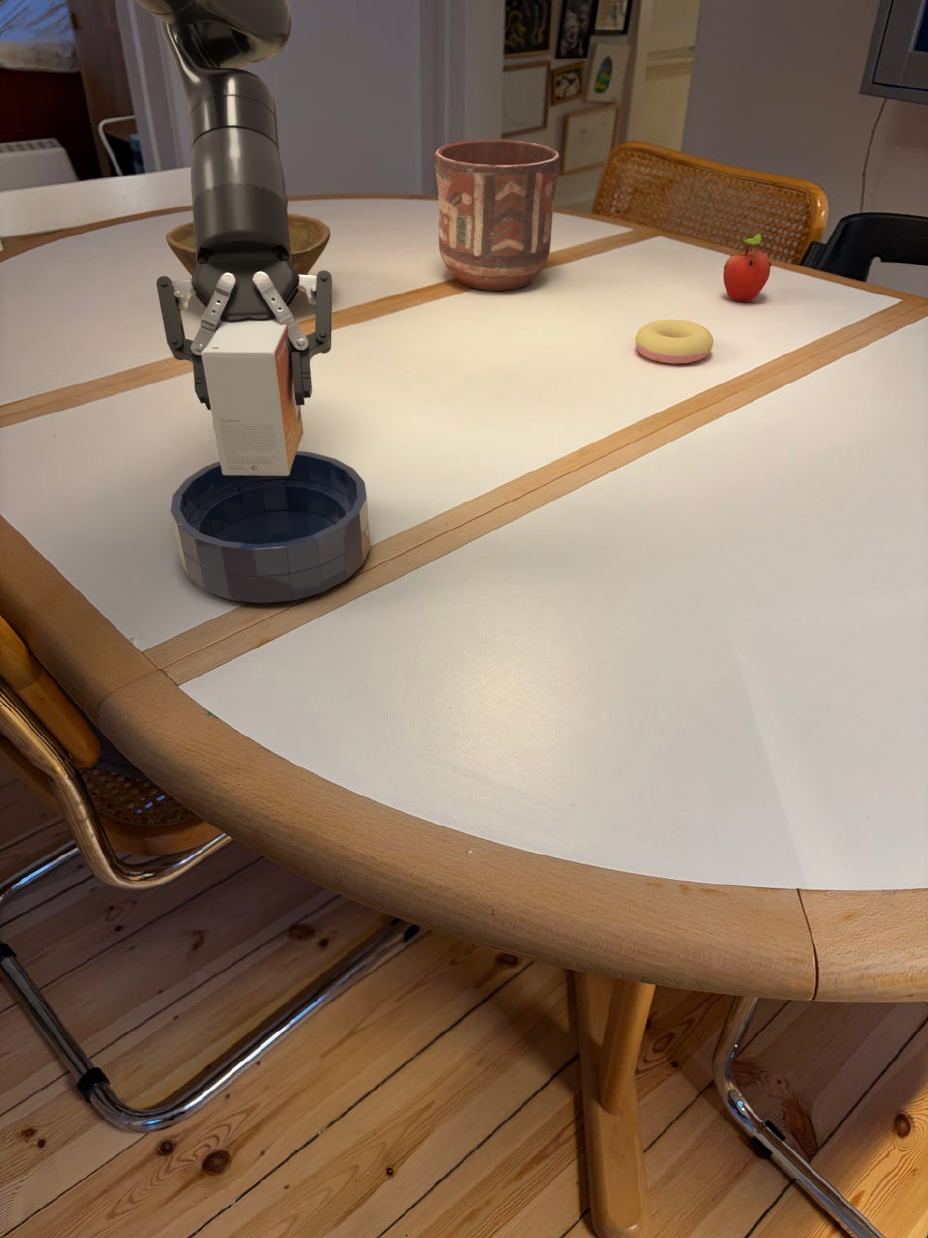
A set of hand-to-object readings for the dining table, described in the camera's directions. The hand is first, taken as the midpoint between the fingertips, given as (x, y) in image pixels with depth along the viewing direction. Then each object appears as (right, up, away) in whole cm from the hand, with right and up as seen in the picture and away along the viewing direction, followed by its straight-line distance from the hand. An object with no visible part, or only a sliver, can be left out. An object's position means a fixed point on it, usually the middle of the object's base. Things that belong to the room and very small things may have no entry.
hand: (256, 403), depth 74 cm
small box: (0, -3, +5) cm, 6 cm away
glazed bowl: (0, -11, +11) cm, 15 cm away
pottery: (+21, +36, +71) cm, 82 cm away
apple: (+58, +30, +65) cm, 92 cm away
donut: (+44, +18, +48) cm, 68 cm away
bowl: (-14, +29, +62) cm, 69 cm away
